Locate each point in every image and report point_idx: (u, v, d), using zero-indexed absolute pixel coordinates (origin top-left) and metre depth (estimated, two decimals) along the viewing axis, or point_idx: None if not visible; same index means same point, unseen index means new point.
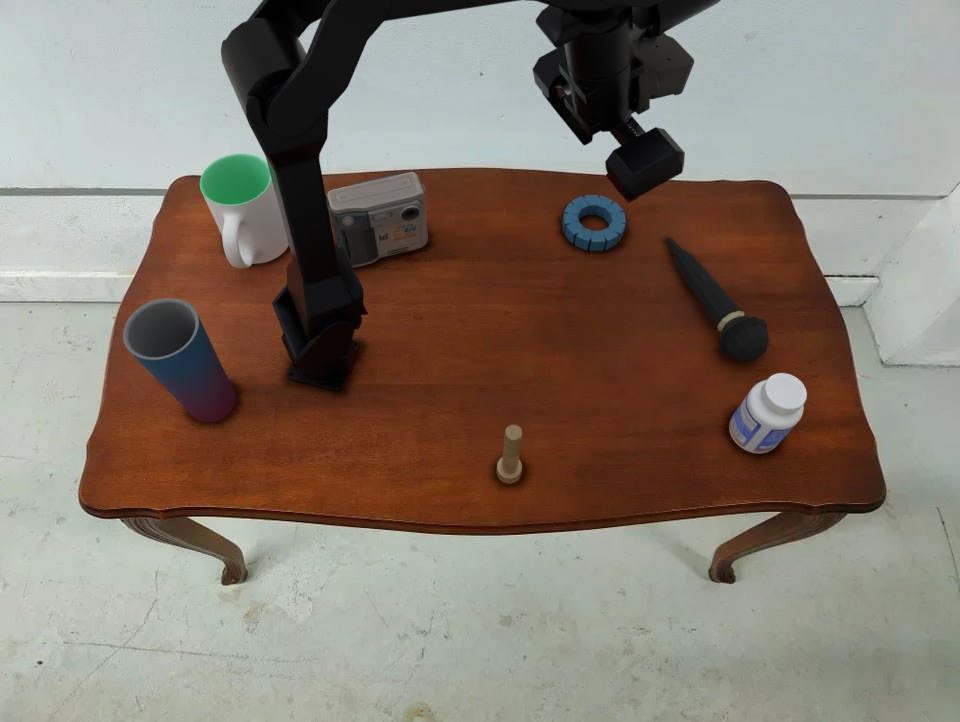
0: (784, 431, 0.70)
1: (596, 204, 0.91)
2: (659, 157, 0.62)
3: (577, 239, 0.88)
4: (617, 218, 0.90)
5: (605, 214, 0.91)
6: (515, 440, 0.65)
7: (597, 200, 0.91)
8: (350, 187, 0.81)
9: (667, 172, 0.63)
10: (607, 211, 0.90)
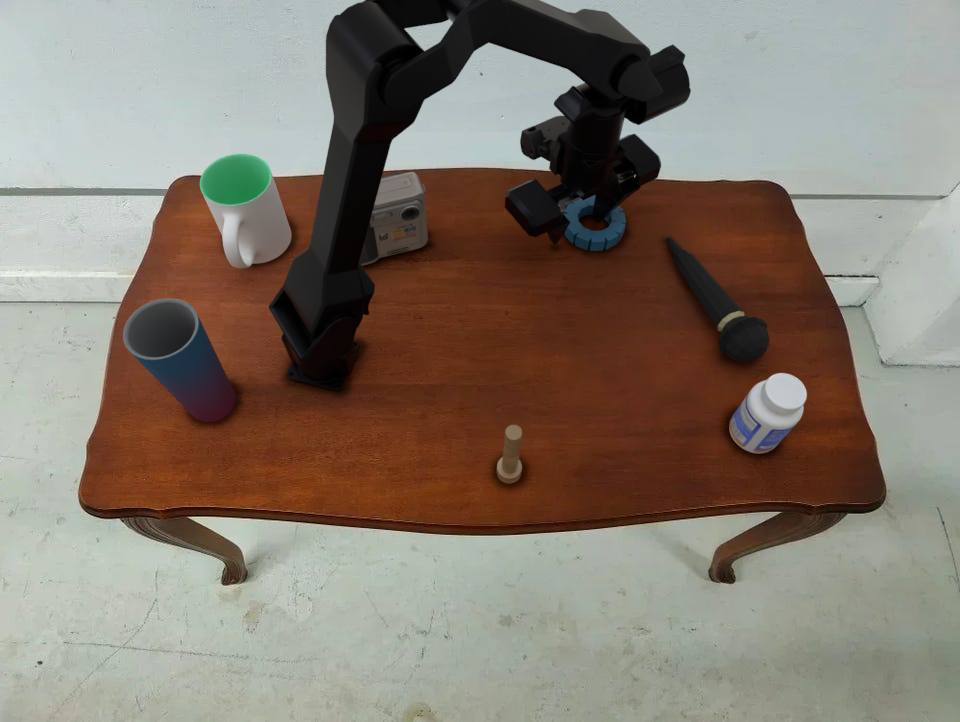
0: (784, 431, 0.70)
1: None
2: (640, 142, 0.83)
3: (577, 239, 0.88)
4: (617, 218, 0.90)
5: None
6: (515, 440, 0.65)
7: None
8: None
9: None
10: None
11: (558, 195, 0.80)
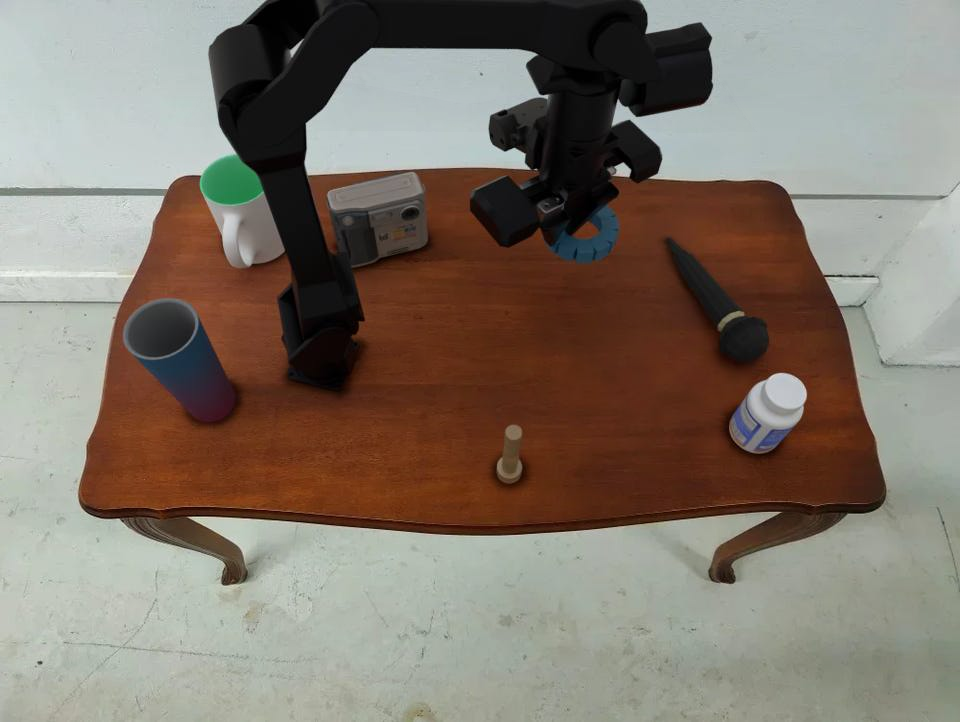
0: (784, 431, 0.70)
1: None
2: (637, 129, 0.68)
3: (560, 249, 0.73)
4: (608, 224, 0.74)
5: (594, 219, 0.75)
6: (515, 440, 0.65)
7: None
8: (350, 187, 0.81)
9: None
10: (596, 216, 0.75)
11: (536, 195, 0.64)
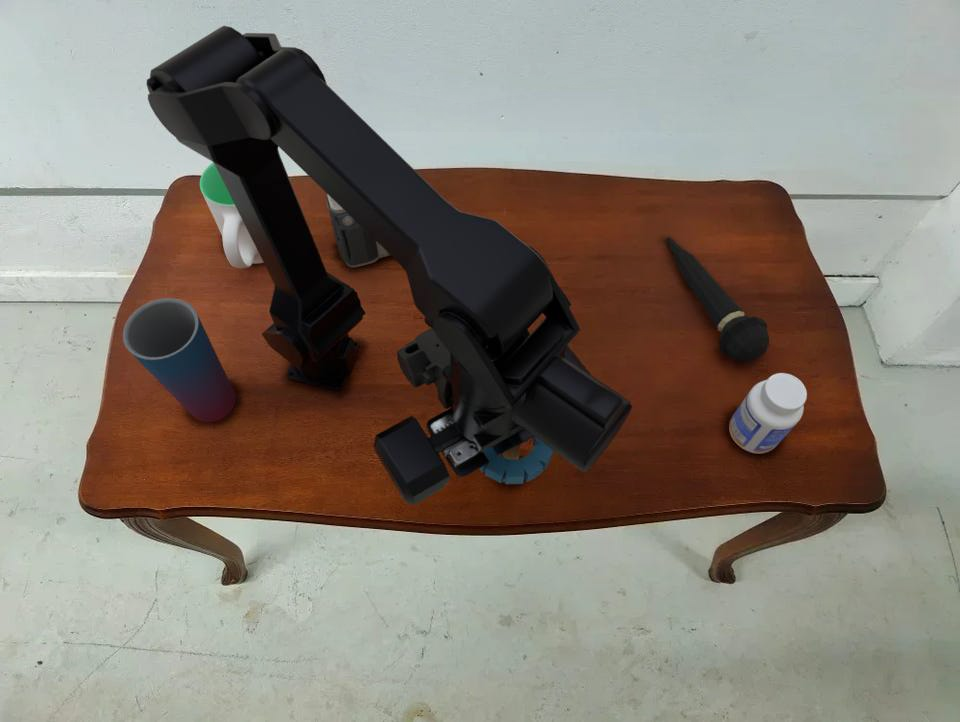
0: (784, 431, 0.70)
1: None
2: (567, 355, 0.60)
3: (487, 471, 0.65)
4: None
5: None
6: None
7: None
8: None
9: None
10: None
11: (448, 441, 0.57)
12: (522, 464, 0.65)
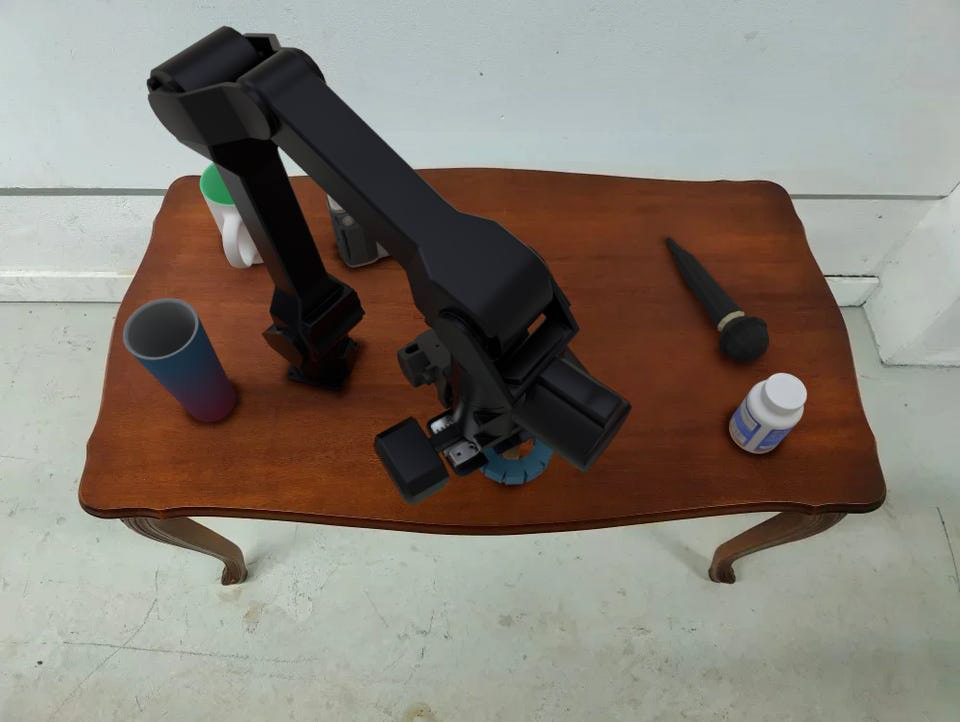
0: (784, 431, 0.70)
1: None
2: (567, 355, 0.60)
3: (487, 471, 0.65)
4: None
5: None
6: None
7: None
8: None
9: None
10: None
11: (448, 442, 0.57)
12: (522, 464, 0.65)
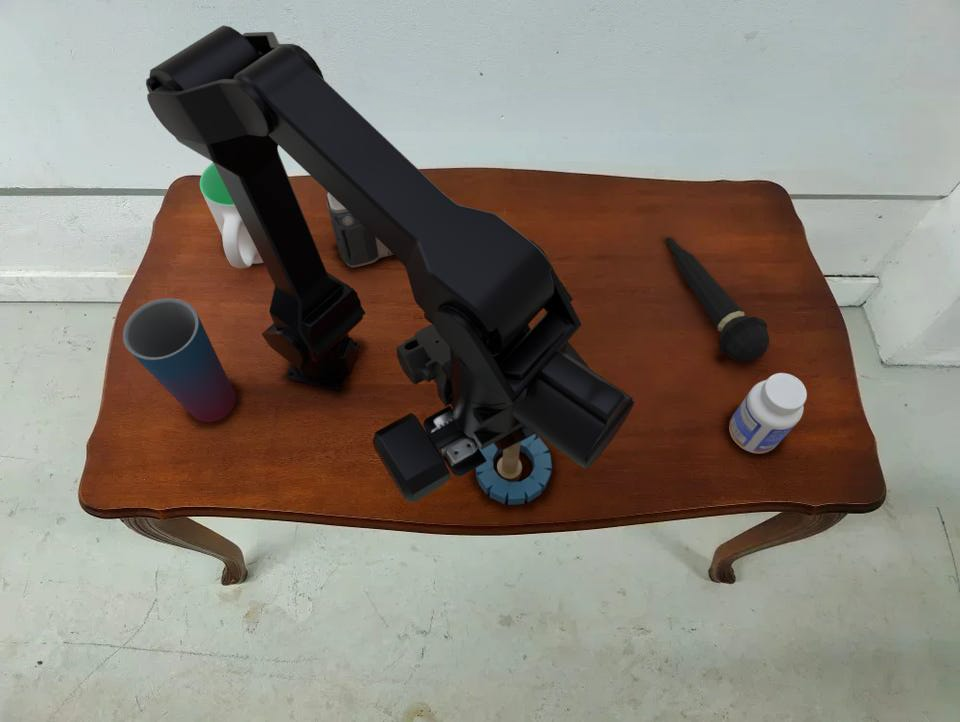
0: (784, 431, 0.70)
1: None
2: (568, 351, 0.60)
3: (491, 493, 0.72)
4: (541, 462, 0.73)
5: (527, 452, 0.74)
6: None
7: None
8: None
9: None
10: (529, 452, 0.74)
11: (448, 438, 0.57)
12: (523, 486, 0.71)
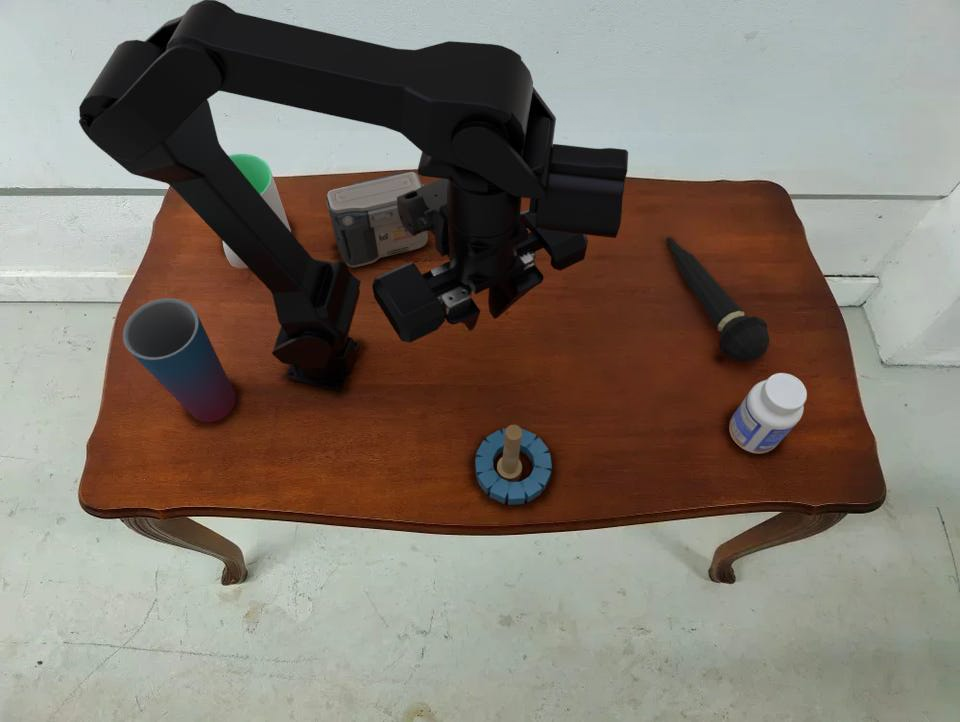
0: (784, 431, 0.70)
1: None
2: None
3: (491, 493, 0.72)
4: (541, 462, 0.73)
5: (527, 452, 0.74)
6: (515, 440, 0.65)
7: None
8: (350, 187, 0.81)
9: None
10: (529, 452, 0.74)
11: (443, 285, 0.59)
12: (523, 486, 0.71)
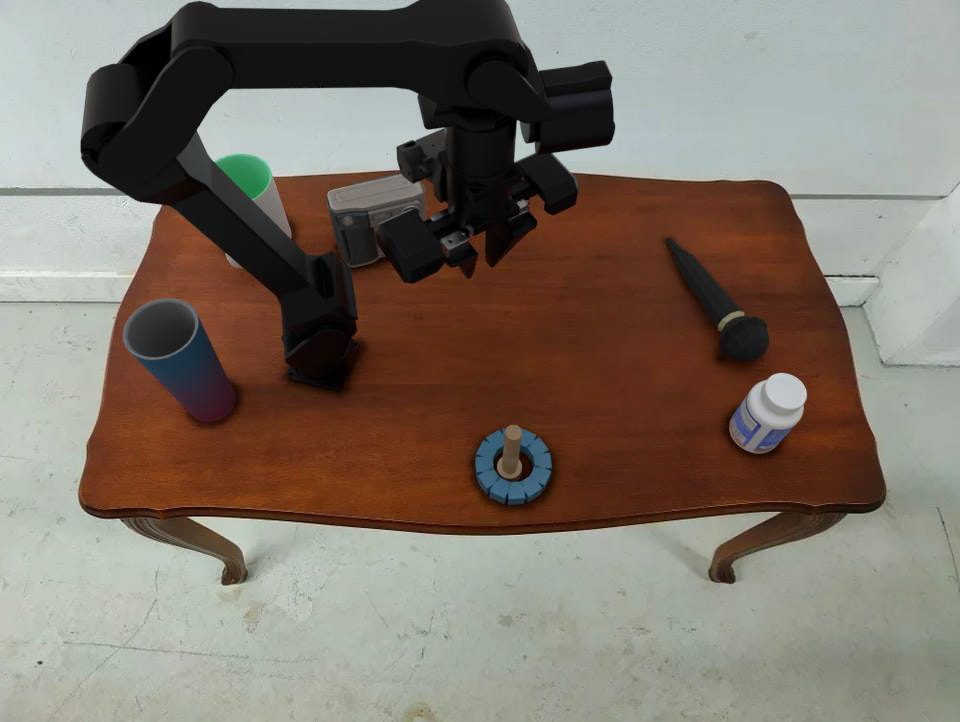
0: (784, 431, 0.70)
1: None
2: (553, 160, 0.66)
3: (491, 493, 0.72)
4: (541, 462, 0.73)
5: (527, 452, 0.74)
6: (515, 440, 0.65)
7: None
8: (350, 187, 0.81)
9: None
10: (529, 452, 0.74)
11: (443, 229, 0.62)
12: (523, 486, 0.71)
